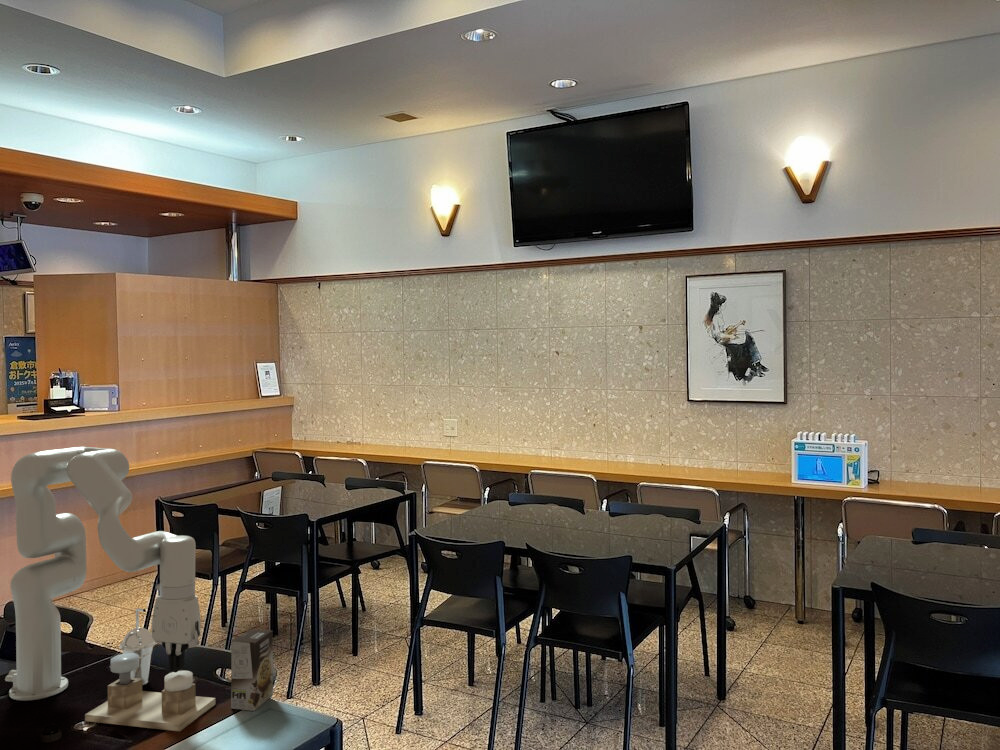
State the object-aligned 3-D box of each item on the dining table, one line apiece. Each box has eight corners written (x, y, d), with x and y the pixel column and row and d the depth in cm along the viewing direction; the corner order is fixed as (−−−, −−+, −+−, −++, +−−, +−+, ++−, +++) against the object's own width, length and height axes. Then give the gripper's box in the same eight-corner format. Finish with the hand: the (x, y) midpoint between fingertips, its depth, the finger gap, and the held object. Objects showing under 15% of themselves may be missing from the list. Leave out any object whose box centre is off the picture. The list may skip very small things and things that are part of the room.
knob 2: (159, 712, 179) (158, 679, 179) (175, 701, 185) (174, 669, 185) (182, 714, 178) (182, 681, 178) (198, 703, 184) (197, 671, 183)
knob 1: (104, 693, 182) (104, 661, 182) (122, 683, 188) (122, 652, 187) (127, 696, 180) (127, 663, 180) (144, 685, 186) (144, 654, 186)
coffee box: (255, 711, 183) (255, 642, 183) (230, 709, 185) (229, 640, 184) (274, 695, 192) (274, 629, 192) (250, 693, 193) (249, 627, 193)
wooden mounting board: (85, 721, 178) (84, 692, 178) (126, 695, 192) (126, 668, 192) (179, 731, 173) (179, 702, 173) (215, 704, 187) (215, 677, 187)
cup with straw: (158, 674, 205) (158, 598, 204) (153, 688, 196) (153, 608, 196) (123, 678, 202) (122, 600, 202) (116, 692, 194) (115, 611, 193)
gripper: (138, 592, 179) (137, 672, 179) (197, 598, 176) (196, 679, 176) (158, 583, 186) (157, 660, 186) (216, 588, 183) (214, 667, 183)
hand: (176, 669), depth 181 cm, fingers closed
